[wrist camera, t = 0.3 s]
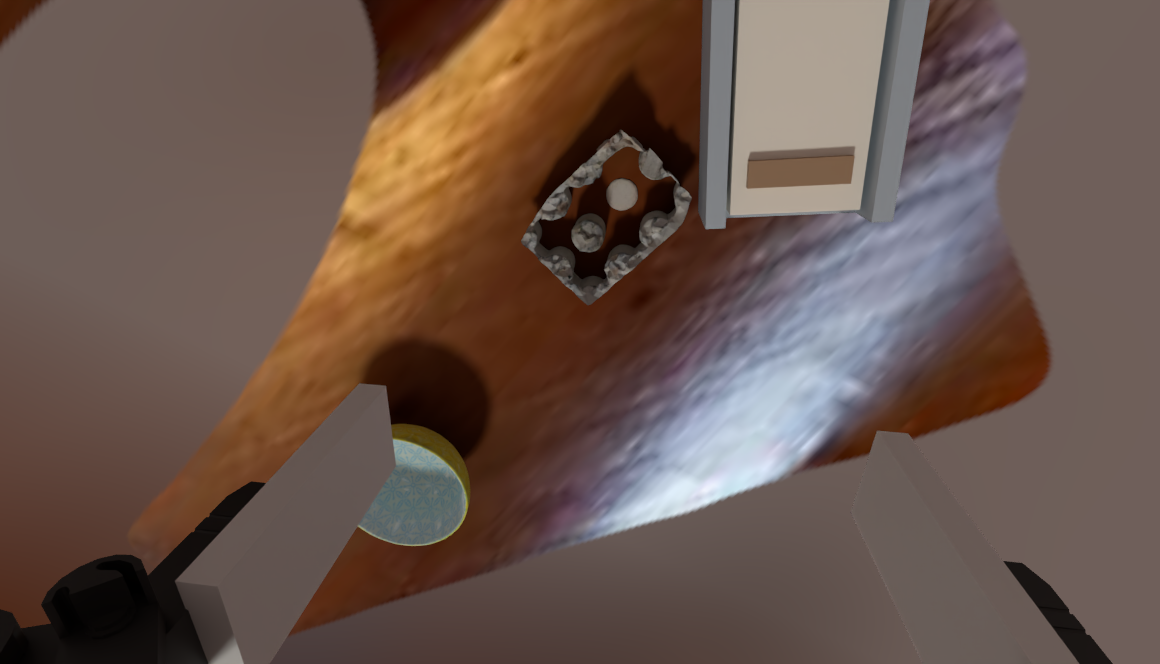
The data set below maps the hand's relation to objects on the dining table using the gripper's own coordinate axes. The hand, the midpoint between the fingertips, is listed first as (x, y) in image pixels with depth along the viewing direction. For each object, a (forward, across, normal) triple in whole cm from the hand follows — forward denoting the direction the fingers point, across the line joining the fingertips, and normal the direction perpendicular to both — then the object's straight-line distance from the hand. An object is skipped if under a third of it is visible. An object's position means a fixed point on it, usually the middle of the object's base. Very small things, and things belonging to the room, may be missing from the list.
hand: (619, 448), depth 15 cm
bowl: (+27, -17, -22) cm, 39 cm away
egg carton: (+28, -2, 0) cm, 28 cm away
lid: (+25, +9, +10) cm, 28 cm away
